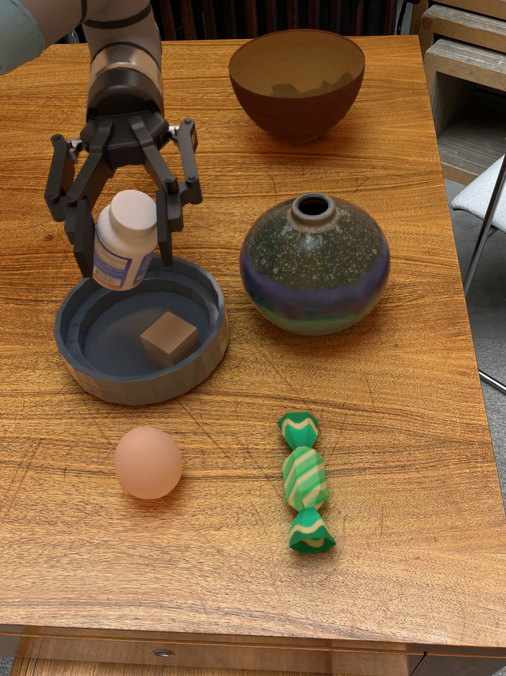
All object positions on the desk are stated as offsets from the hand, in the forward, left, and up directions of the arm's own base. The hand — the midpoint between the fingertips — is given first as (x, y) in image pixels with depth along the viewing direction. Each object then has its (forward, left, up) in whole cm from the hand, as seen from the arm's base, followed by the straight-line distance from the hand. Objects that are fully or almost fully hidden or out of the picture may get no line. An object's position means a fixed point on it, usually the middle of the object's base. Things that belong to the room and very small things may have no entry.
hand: (124, 259), depth 50 cm
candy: (+18, -3, -17) cm, 25 cm away
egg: (+6, -9, -17) cm, 20 cm away
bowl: (-10, +45, -17) cm, 49 cm away
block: (-1, +3, -17) cm, 17 cm away
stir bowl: (-5, +4, -17) cm, 18 cm away
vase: (+8, +17, -17) cm, 25 cm away
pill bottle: (-7, +4, -8) cm, 11 cm away
